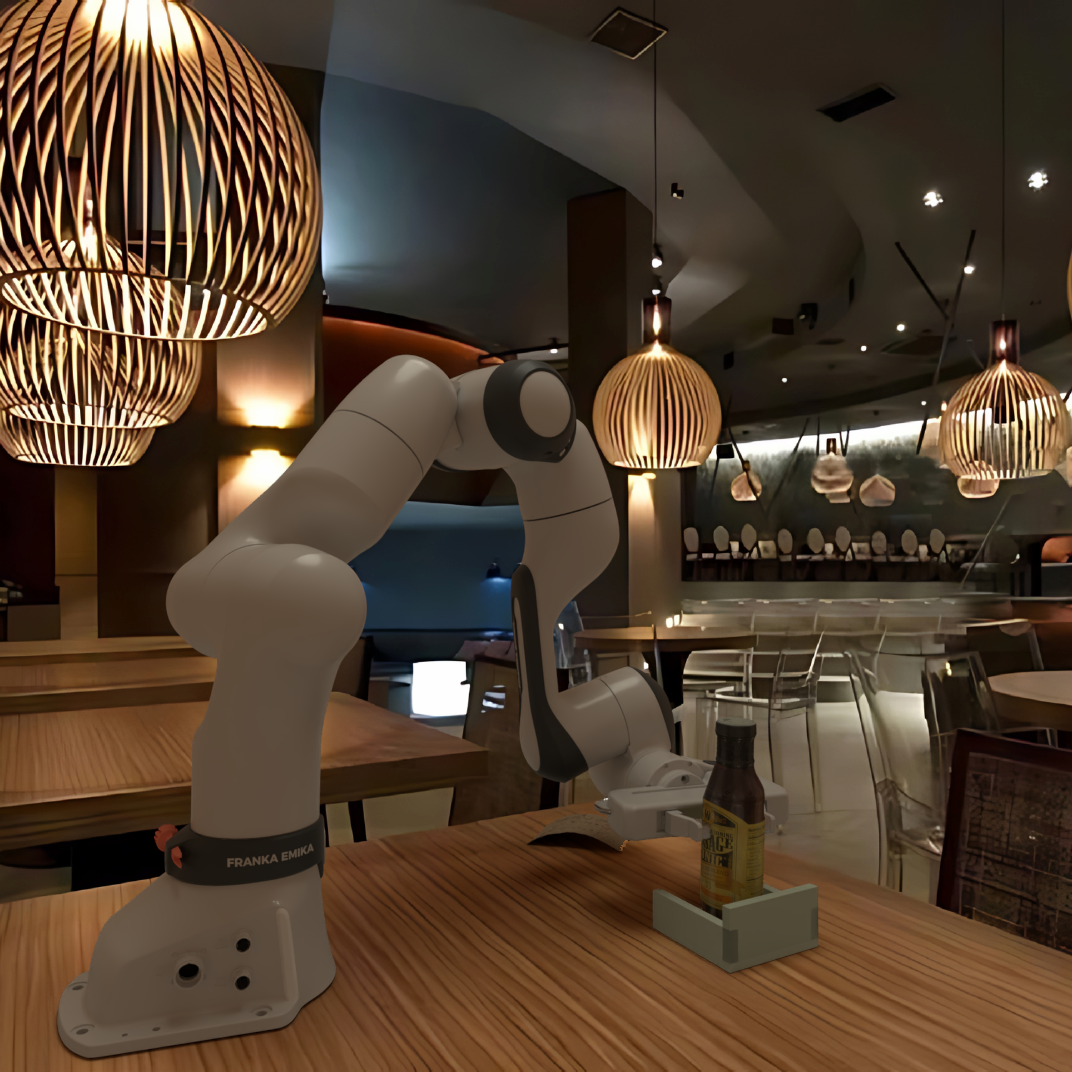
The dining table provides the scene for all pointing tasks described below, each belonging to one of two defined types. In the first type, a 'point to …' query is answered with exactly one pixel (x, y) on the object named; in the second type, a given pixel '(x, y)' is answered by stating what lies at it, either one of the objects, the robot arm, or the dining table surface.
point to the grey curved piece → (585, 828)
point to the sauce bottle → (733, 820)
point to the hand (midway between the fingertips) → (738, 829)
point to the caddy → (743, 926)
